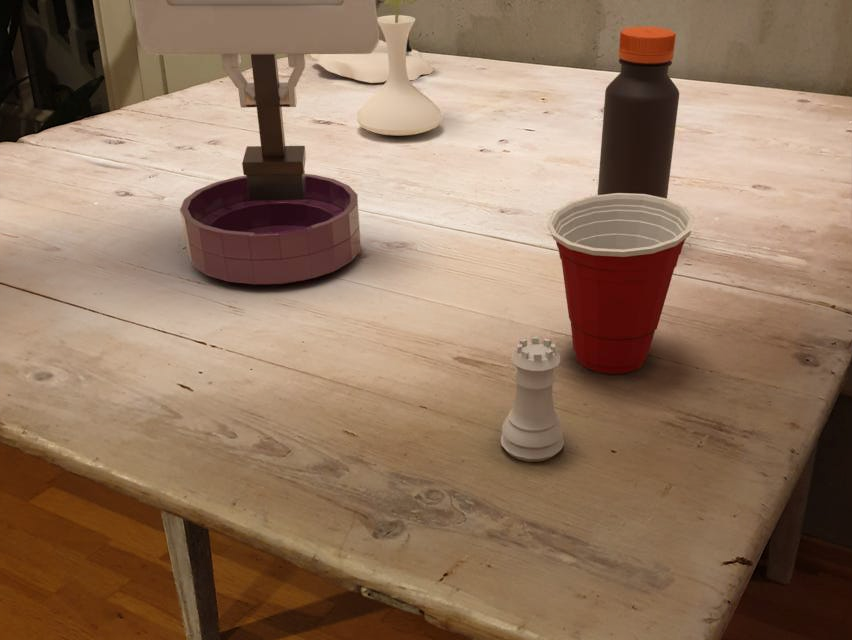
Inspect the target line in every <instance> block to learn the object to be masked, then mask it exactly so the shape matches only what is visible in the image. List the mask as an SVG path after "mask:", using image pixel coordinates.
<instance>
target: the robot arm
mask: <svg viewBox="0 0 852 640" xmlns="http://www.w3.org/2000/svg"><path fill="white" fill-rule="evenodd" d="M133 1H134V16H135V26H136V33H137V39H138V43H139V44H140V46H141V47H142V48H143V49H144V50H145V51H146V52H147V53H148V54H149V55H151V56H209V55H210V56H217V55H220V57H221V64H222V66H221V67H222V70H223V71H224V72H225V74H226V75H227V76H228V77H229V79H230V81H231V82H232V83H233V85H234V86H235V87H236V89H238V97H239V106H240V108H243V109H244V108H246V109H247V108H257V106H256V97H255V88H254V82H248V80H247V79H246V78H245V76H244V74H243V73H242V72H241V70H240V68H239V67H240V64H241V62H242V55H244V56H245V55H250V56H251V55H259V54H276V55H287V62H288V67H289V68H293V69H292V72H291V74H290V76H289V78H288V81H287V82H279V86H278V95H279V97H280V98H279V105H280V107H282V108H297V99H298V98H297V89H296V87H297V85H298V83H299V82H300V79H301V76H302V75H303V73H304V70H305V69H306V63H307V57H306V55H310V54H370V53H372V52H373V50H374V49H375V48H376V47H377V45H378V44H379V40H380V30H379V25H378V19H377V18H378V10H377V11H376V0H133Z"/></svg>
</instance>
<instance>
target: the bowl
mask: <svg viewBox="0 0 852 640" xmlns="http://www.w3.org/2000/svg"><path fill="white" fill-rule="evenodd" d="M305 180H306V187H305V195H304V200H265V201H250V200H249V193H248V185H247V177H246V175H240V176H236V177H231V178H227V179H224V180H220V181H215V182H213V183H211V184H208V185H205V186H203V187H201V188H199V189H197V190H195V191H193V192H192V193H191V194H190V195H188V196H187V197H185V198H184V199H183V201H182V204H181V206H180V209H179V213H180V218H181V223H182V224H181V225H182V229H183V235H184V240H185V245H186V251H187V256H188V259H189V261H190V264H191V266H192V267H193V268H195V270H197V271H199V272H201V273H202V274H204V275H205V276H207V277H210V278H215V279H218V280H220V281H221V280H222V281H224V282H228V283H238V284H245V285H246V284H247V285H255V286H256V285H257V286H273V285H275V286H276V285H286V284H294V283H299V282H303V281H308V280H311V279H315V278H318V277H321V276H325V275H328V274H330V273H333V272H336V271H338V270H339V269H341V268H343V267H344V266H346V265H347V264H350V263H352V262H353V260H354V259H355V258H356V257H357V256H358V254H359V253H360V252H361V249H362V248H361V246H362V245H361V243H362V242H361V226H360V211H359V198H358V194H357V192H356V191H354V189H353V188H352V187H351V186H350V185H349V184H346V183H344V182H342V181H340V180H337V179H335V178H332V177H331V178H330V177H326V176H322V175H317V174H311V173H305Z"/></svg>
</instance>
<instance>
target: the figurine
mask: <svg viewBox="0 0 852 640" xmlns="http://www.w3.org/2000/svg"><path fill="white" fill-rule="evenodd" d="M384 2H385V0H375V4H376V11H377V12H378V10H379V9H378V8H380V5H381V4H384ZM309 56H310V57H312V58H313V59H314V60H317V63H316V65H319V66H320V67H322V68H323V69H324V70H325V71H327V72H330V73H332V74H335V75H338V76H340V77H345V78H349V79H353V80H355V81H359V82H364V83H369V84H375V83H377V84H378V83H385V82H386V81H387V78H388V74H389V59H388V50H387V44H386V41H383V40H382V39H379V44H378V45H377V47H376V48H375V49H374V50H373V52H372V53H370V54H309ZM406 70H407V75H408V78H409V80H410V81H414V80H415V81H416V80H417V79H419V77H420V76H421V75H430V74H432V73H433V72H434V69H433V68H432V65H431V64H430V63H429V62H428V61H427V60H425V59H424V58H423V55H422V53H421V52H419V50H416V49H413V48H412V47H411V46H410V40H409V38H408V40H407V47H406Z"/></svg>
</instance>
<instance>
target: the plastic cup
mask: <svg viewBox="0 0 852 640" xmlns="http://www.w3.org/2000/svg"><path fill="white" fill-rule="evenodd" d="M694 222H695V217H694V216H693V214H692V212H691V211H690V210H689V209H688V208H687V207H686V206H684V205H682V204H680V203H678V202H676V201H674V200H672V199H670V198H667V199H666V198H661V197H656V196H652V195H647V194H629V193H614V194H605V195H597V194H596V195H590V196H586V197H583V198H580V199H577V200H573V201H570V202H567V203H566V204H564V205H562V206H561V207H559V208H557V209H555V210H554V211H553V212H552V213H551V215H550V217H549V219H548V221H547V223H546V225H547V228H548V230H549V232H550V235H551V237H552V239H553V241H554V242H555V243H556V244H555V245H556V247H557V249H558V254H559V255H558V256H559V258H560V260H561V267H562V274H563V282H564V291H565V298H566V299H565V300H566V304H567V312H568V319H569V321H570V328H571V329H570V330H571V338H572V348H573V351H574V354H575V358H576V360H577V363H579V364H580V365H582V366H583V367H584V368H586V369H588V370H591V371H593V372H597V373H602V374H609V375H615V374H616V375H617V374H627V373H630V372H631V373H632V372H633V371H634V372H635V371H637V370H639V369H640V368H641V367H642V366H644V364H645V361H646V359H647V358H648V356H649V352H650V350H651V346H652V342H653V338H654V335H655V333H656V331H657V330H658V327H659V322H660V319H661V316H662V313H663V309H664V305H665V302H666V299H667V296H668V292H669V289H670V285H671V281H672V278H673V274H674V272H675V268H677V265H678V261H679V257H680V255H681V253H682V249H683V245H685V241H686V240H687V238H688V237H690V236H691V234H692V230H693V226H694Z"/></svg>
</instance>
